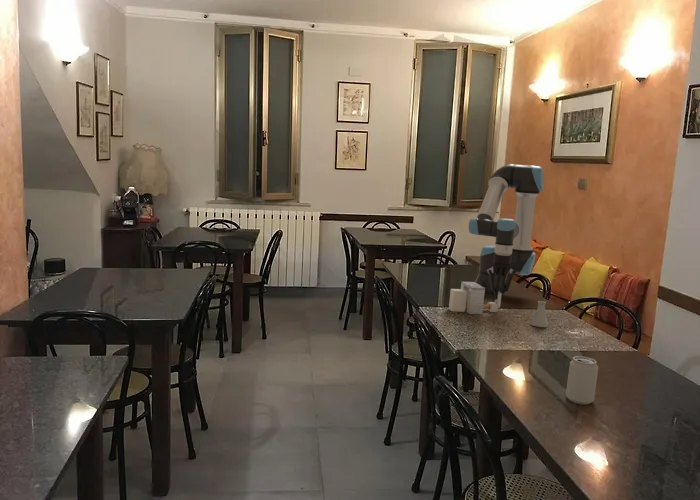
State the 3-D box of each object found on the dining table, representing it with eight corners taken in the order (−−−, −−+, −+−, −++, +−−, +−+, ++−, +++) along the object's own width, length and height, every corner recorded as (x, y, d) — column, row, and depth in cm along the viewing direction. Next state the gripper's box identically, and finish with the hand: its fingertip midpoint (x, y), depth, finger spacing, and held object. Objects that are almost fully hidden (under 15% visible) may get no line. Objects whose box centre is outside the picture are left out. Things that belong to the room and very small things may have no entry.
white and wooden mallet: (493, 309, 268) (495, 290, 266) (497, 312, 264) (499, 292, 263) (448, 308, 263) (450, 288, 262) (452, 311, 260) (454, 290, 258)
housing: (471, 307, 270) (474, 282, 268) (482, 314, 258) (485, 288, 257) (458, 306, 269) (461, 281, 267) (469, 313, 257) (471, 287, 255)
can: (560, 394, 172) (566, 354, 170) (585, 395, 172) (591, 355, 170) (572, 405, 164) (578, 363, 162) (598, 406, 165) (604, 364, 163)
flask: (549, 329, 242) (552, 304, 241) (530, 326, 244) (533, 302, 242) (547, 324, 249) (550, 300, 248) (529, 322, 251) (532, 298, 249)
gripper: (492, 255, 257) (487, 308, 261) (520, 256, 260) (514, 309, 263) (485, 252, 264) (480, 304, 268) (512, 253, 267) (507, 304, 271)
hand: (497, 306), depth 266 cm, fingers closed
